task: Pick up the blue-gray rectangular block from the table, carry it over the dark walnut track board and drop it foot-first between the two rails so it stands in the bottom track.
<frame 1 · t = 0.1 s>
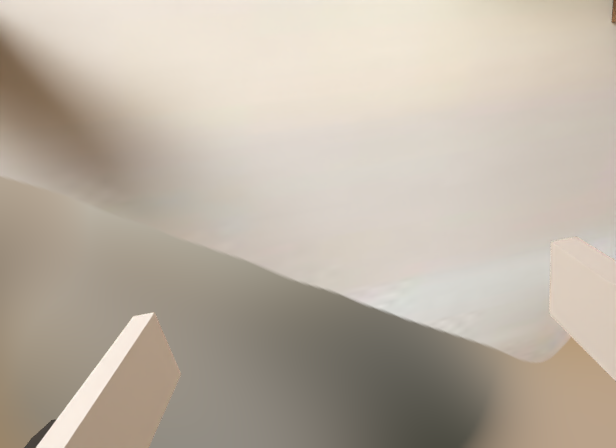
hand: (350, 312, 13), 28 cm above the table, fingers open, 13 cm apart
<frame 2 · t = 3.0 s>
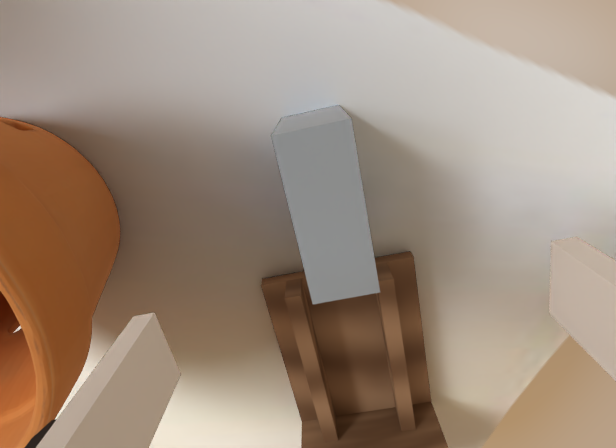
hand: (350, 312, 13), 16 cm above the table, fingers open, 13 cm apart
blue-gray rectangular block: (324, 180, 27), on the table
track: (352, 348, 33), on the table
flower pot: (30, 214, 29), on the table
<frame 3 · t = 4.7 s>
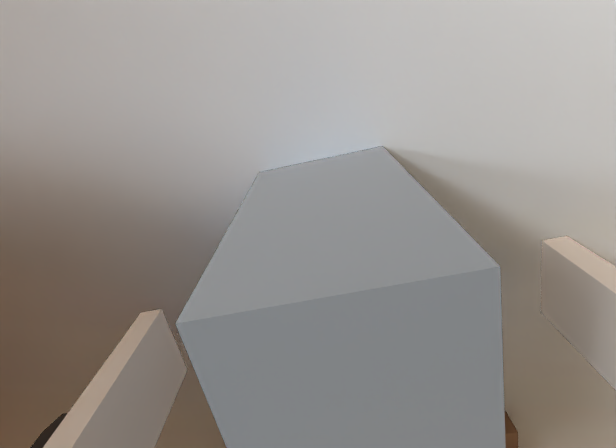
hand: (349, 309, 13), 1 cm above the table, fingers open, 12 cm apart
blue-gray rectangular block: (347, 291, 14), on the table
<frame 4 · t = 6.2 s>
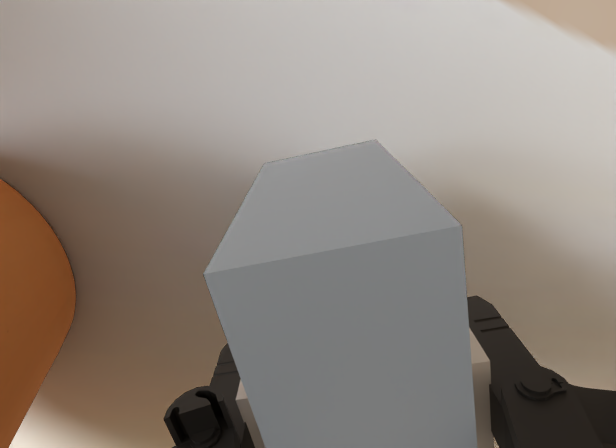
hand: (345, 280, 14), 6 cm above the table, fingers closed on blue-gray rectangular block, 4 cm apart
blue-gray rectangular block: (344, 274, 15), point 5 cm above the table, touching gripper
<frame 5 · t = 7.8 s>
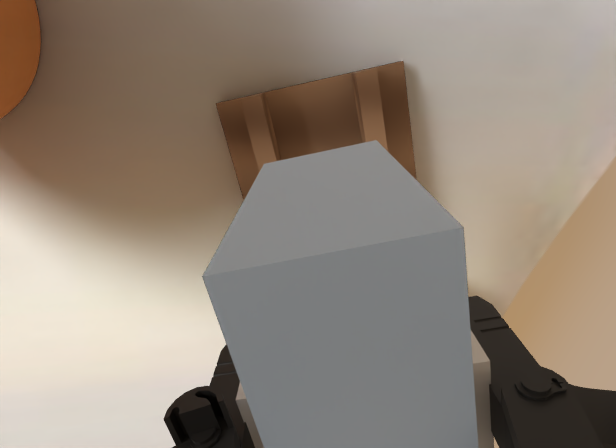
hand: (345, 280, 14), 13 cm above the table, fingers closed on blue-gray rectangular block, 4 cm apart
blue-gray rectangular block: (344, 275, 15), point 13 cm above the table, touching gripper
track: (331, 203, 27), on the table
when the fingers open (5 cm above the table, at t = 9.3 s): blue-gray rectangular block drops 3 cm, resting on track.
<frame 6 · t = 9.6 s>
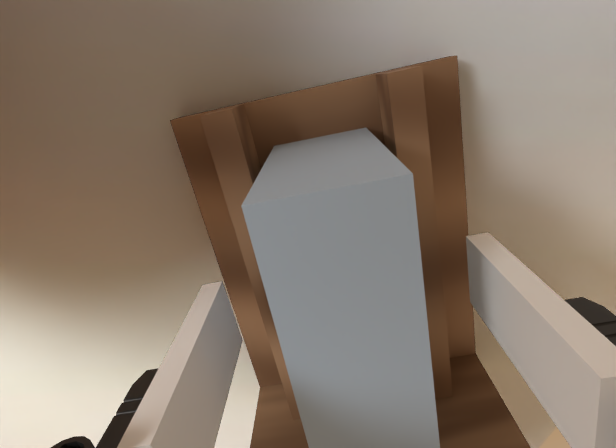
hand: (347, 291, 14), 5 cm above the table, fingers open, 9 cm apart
blue-gray rectangular block: (339, 241, 18), point 1 cm above the table, touching track
track: (343, 259, 19), on the table
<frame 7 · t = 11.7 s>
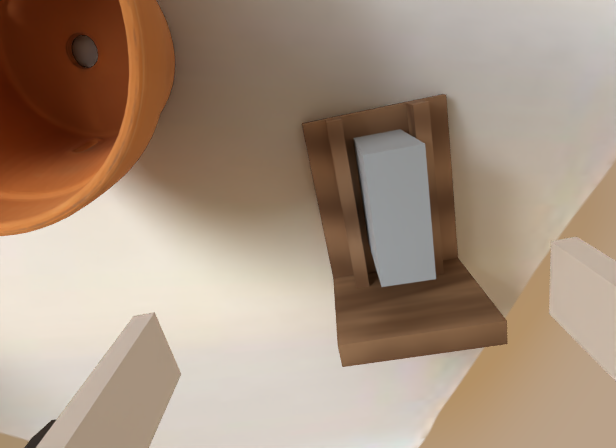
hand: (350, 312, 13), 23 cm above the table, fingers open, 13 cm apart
blue-gray rectangular block: (383, 189, 33), point 1 cm above the table, touching track
track: (384, 202, 35), on the table
flower pot: (94, 53, 31), on the table
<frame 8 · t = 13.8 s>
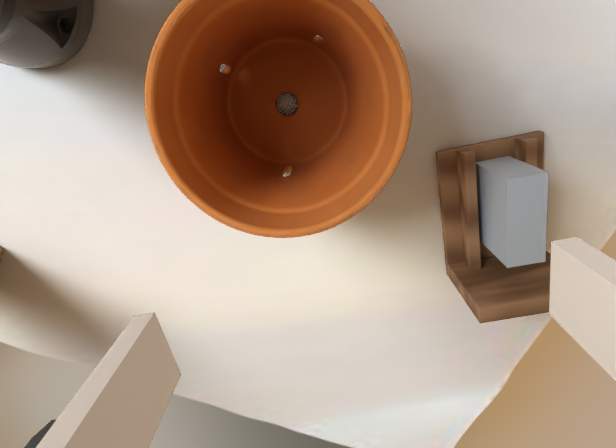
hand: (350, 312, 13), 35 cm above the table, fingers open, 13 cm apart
blue-gray rectangular block: (492, 198, 46), point 1 cm above the table, touching track
track: (489, 207, 48), on the table
flower pot: (289, 104, 43), on the table
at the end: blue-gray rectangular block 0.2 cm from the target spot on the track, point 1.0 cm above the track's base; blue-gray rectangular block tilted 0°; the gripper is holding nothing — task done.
